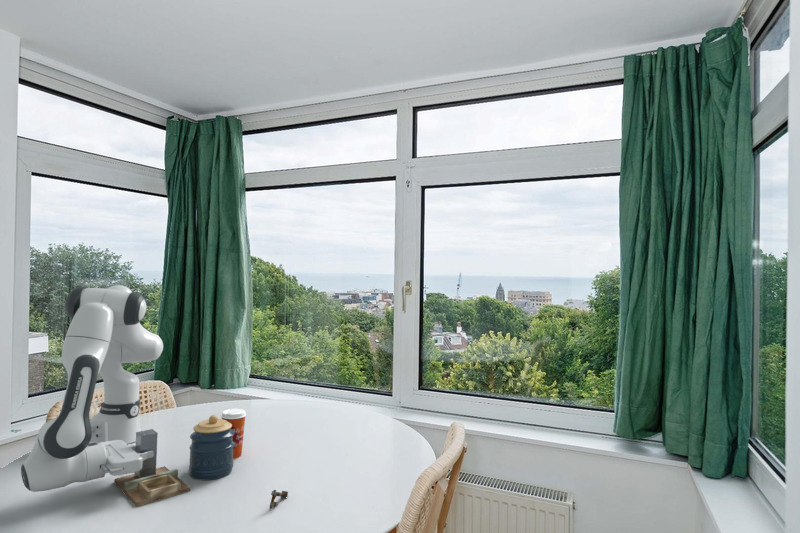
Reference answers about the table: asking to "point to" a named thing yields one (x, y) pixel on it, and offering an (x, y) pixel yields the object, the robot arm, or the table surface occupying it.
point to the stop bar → (144, 443)
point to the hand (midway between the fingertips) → (149, 450)
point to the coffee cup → (236, 428)
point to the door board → (152, 486)
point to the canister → (211, 449)
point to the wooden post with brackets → (274, 494)
